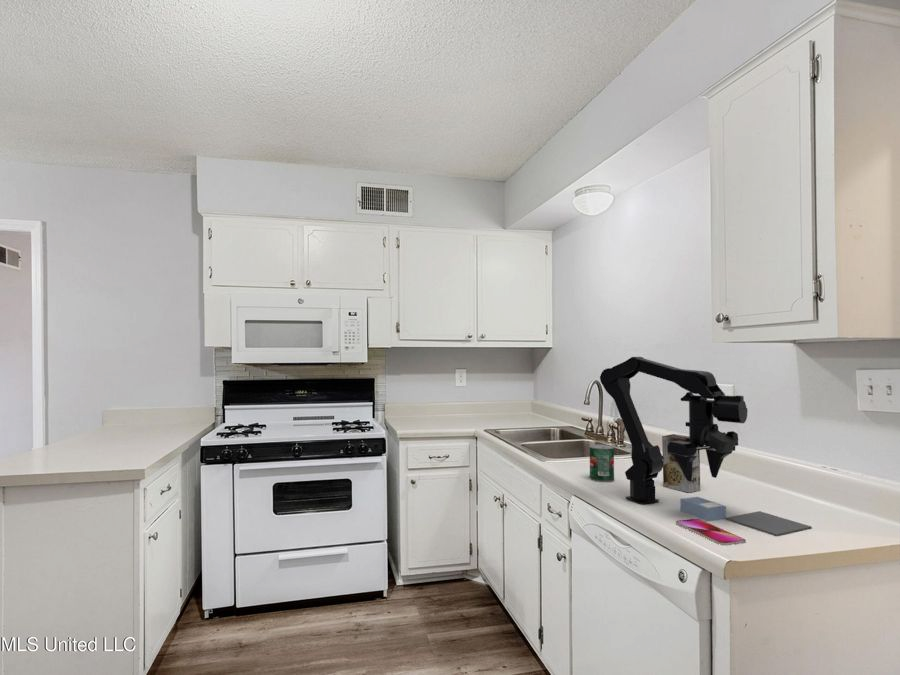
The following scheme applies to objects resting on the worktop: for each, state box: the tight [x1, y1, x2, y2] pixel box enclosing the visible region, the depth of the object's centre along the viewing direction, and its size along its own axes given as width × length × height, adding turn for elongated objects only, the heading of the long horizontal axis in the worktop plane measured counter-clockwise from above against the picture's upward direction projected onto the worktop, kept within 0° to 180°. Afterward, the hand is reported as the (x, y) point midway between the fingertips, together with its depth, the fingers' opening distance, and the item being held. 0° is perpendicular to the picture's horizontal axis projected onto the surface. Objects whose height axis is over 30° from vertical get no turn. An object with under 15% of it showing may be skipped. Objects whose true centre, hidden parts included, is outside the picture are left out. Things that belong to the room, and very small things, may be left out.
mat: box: [724, 510, 813, 537], centre depth 125 cm, size 13×13×1 cm
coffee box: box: [661, 433, 701, 493], centre depth 158 cm, size 9×6×16 cm
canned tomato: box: [589, 443, 615, 483], centre depth 169 cm, size 8×8×11 cm
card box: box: [679, 496, 727, 522], centre depth 132 cm, size 9×6×4 cm, turn 19°
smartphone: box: [675, 518, 747, 546], centre depth 119 cm, size 7×1×15 cm
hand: (701, 479), depth 132 cm, fingers open, 9 cm apart
